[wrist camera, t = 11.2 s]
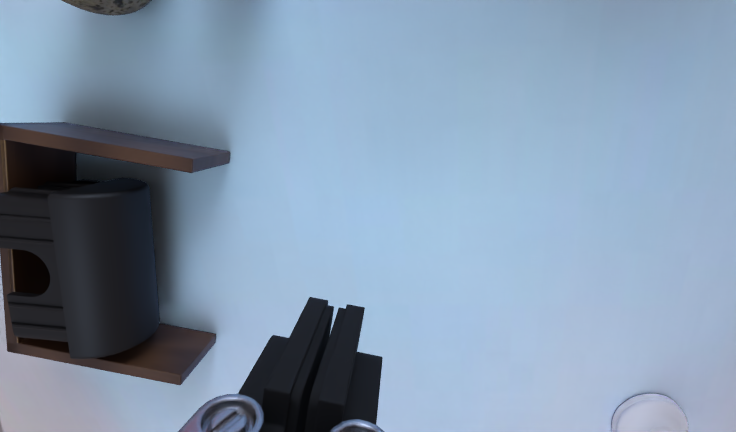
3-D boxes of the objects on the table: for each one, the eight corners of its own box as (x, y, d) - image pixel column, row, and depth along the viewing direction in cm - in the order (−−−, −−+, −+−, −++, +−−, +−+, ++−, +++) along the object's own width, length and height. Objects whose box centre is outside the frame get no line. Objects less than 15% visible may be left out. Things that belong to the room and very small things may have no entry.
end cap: (182, 311, 30) (120, 366, 23) (91, 302, 30) (5, 354, 23) (174, 178, 27) (102, 197, 21) (75, 171, 28) (-26, 188, 21)
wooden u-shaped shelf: (230, 151, 26) (192, 158, 22) (215, 342, 30) (180, 386, 25) (63, 122, 27) (-10, 123, 22) (69, 314, 30) (6, 351, 26)
